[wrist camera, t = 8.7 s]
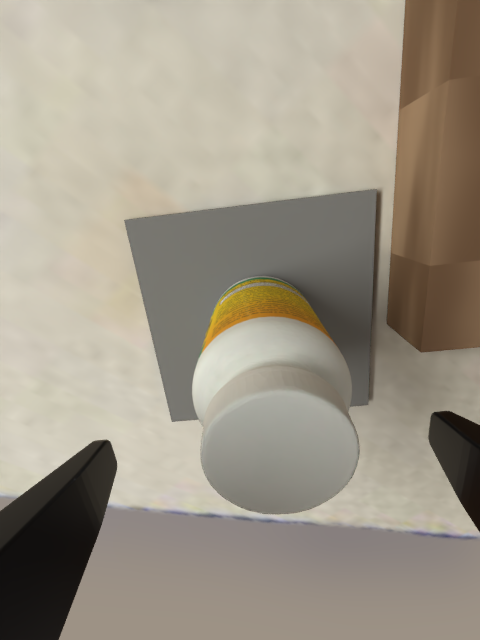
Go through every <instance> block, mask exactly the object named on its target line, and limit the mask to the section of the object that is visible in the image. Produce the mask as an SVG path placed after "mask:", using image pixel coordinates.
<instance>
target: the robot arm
mask: <svg viewBox="0 0 480 640" xmlns="http://www.w3.org/2000/svg"><path fill="white" fill-rule="evenodd" d="M429 442H430V445H431V447H432V449H433V451H434V453H435V455H436V457H437V459H438V461H439V463H440V465H441V466H442V468H443V470H444V472H445V474H446V476H447V478H448V480H449V482H450V484H451V486H452V487H453V489H454V491H455V493H456V495H457V497H458V499H459V500H460V502H461V504H462V505H463V507H464V509H465V510H466V512H467V513H468V515H469V516H470V518H471V519H472V521H473V523H474V524H475V526H476V527H477V529H478V530H479V532H480V425H478V424H476V423H474V422H472V421H470V420H468V419H465V418H463V417H461V416H459V415H457V414H455V413H453V412H450V411H440V412H434V413H432V415H431V420H430V428H429ZM116 471H117V460H116V457H115V454H114V451H113V448H112V445H111V443H110V441H109V440H97V441H93V442H92V443H90V444H89V445H88V446H86V447H85V448H84V449H82V450H81V451H80V452H78V453H77V454H76V455H74V456H73V457H72V458H70V459H69V460H68V461H66V462H65V463H64V464H62V465H61V466H60V467H58V468H57V469H56V470H54V471H53V472H52V473H50V474H49V475H48V476H46V477H45V478H44V479H42V480H41V481H40V482H38V483H37V484H36V485H34V486H33V487H32V488H30V489H29V490H28V491H26V492H25V493H24V494H22V495H21V496H20V497H18V498H17V499H16V500H14V501H13V502H12V503H10V504H9V505H8V506H6V507H5V508H4V509H2V510H1V511H0V640H59V637H60V634H61V632H62V629H63V626H64V624H65V621H66V619H67V616H68V613H69V611H70V608H71V605H72V603H73V600H74V597H75V595H76V592H77V589H78V586H79V584H80V582H81V579H82V576H83V573H84V571H85V568H86V566H87V563H88V560H89V557H90V555H91V552H92V549H93V547H94V544H95V542H96V539H97V537H98V534H99V531H100V528H101V525H102V522H103V518H104V515H105V511H106V508H107V504H108V500H109V497H110V493H111V489H112V486H113V482H114V478H115V475H116Z"/></svg>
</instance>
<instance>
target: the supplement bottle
mask: <svg viewBox="0 0 480 640" xmlns="http://www.w3.org/2000/svg"><path fill="white" fill-rule="evenodd" d="M192 397H193V404H194V408H195V411H196V414H197V417H198V419H199V421H200V423H201V425H202V426H203V432H202V439H201V464H202V468H203V470H204V473H205V476H206V478H207V480H208V481H209V482H210V484H211V486H212V487H213V488H214V489H215V490H216V491H217V492H218V493H219V494H220V495H221V496H222V497H224V498H225V499H226V500H228V501H230V502H231V503H233V504H235V505H237V506H239V507H241V508H244V509H246V510H249V511H253V512H258V513H263V514H290V513H298V512H302V511H305V510H309V509H312V508H314V507H316V506H319V505H321V504H323V503H324V502H326V501H328V500H329V499H331V498H332V497H334V496H335V495H336V494H338V493H339V492H340V491H341V490H342V489H343V488H344V487H345V486H346V485H347V483H348V482H349V480H350V479H351V478H352V476H353V474H354V472H355V469H356V467H357V463H358V459H359V440H358V435H357V432H356V429H355V427H354V424H353V422H352V420H351V418H350V416H349V414H348V411H349V407H350V404H351V397H352V382H351V376H350V372H349V369H348V366H347V363H346V361H345V359H344V357H343V355H342V354H341V352H340V350H339V349H338V347H337V346H336V344H335V343H334V341H333V340H332V338H331V337H330V335H329V334H328V332H327V331H326V329H325V328H324V326H323V325H322V323H321V322H320V320H319V318H318V317H317V315H316V314H315V312H314V311H313V309H312V308H311V306H310V305H309V303H308V301H307V300H306V298H305V297H304V296H303V295H302V294H301V293H300V291H298V290H297V289H296V288H295V287H294V286H292V285H291V284H289V283H287V282H285V281H283V280H280V279H278V278H274V277H269V276H256V277H250V278H246V279H244V280H241V281H239V282H237V283H235V284H233V285H232V286H231V287H230V288H229V289H227V290H226V291H225V292H224V294H223V295H222V296H221V297H220V299H219V301H218V302H217V304H216V306H215V308H214V311H213V313H212V317H211V320H210V323H209V326H208V330H207V332H206V336H205V339H204V343H203V346H202V349H201V352H200V355H199V358H198V361H197V364H196V368H195V371H194V376H193V383H192Z"/></svg>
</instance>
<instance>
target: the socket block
mask: <svg viewBox="0 0 480 640" xmlns="http://www.w3.org/2000/svg"><path fill="white" fill-rule="evenodd" d="M387 324H388V325H389V326H390V327H391V328H392V329H393V330H395V331H396V332H397V333H398V334H399V335H401V336H402V337H403V338H404V339H405V340H407V341H408V342H409V343H410V344H411V345H412V346H414V347H415V348H416V349H417V350H418V351H420V352H432V351H442V350H453V349H464V348H474V347H480V0H406V2H405V19H404V37H403V54H402V71H401V88H400V105H399V122H398V140H397V157H396V174H395V191H394V208H393V225H392V243H391V260H390V277H389V294H388V311H387Z"/></svg>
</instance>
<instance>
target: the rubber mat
mask: <svg viewBox="0 0 480 640" xmlns="http://www.w3.org/2000/svg"><path fill="white" fill-rule="evenodd" d="M376 193H377V189H374V190H365V191H357V192H349V193H341V194H333V195H325V196H316V197H308V198H300V199H292V200H284V201H276V202H268V203H259V204H251V205H243V206H235V207H227V208H219V209H210V210H202V211H194V212H186V213H178V214H170V215H161V216H153V217H145V218H137V219H129V220H124V221H125V225H126V230H127V234H128V238H129V242H130V247H131V251H132V255H133V259H134V264H135V268H136V272H137V276H138V280H139V285H140V289H141V293H142V297H143V302H144V306H145V310H146V314H147V319H148V323H149V327H150V331H151V335H152V340H153V344H154V348H155V352H156V357H157V361H158V365H159V369H160V374H161V378H162V382H163V386H164V390H165V395H166V399H167V403H168V407H169V412H170V416H171V420H172V422H175V421H187V420H199V419H198V417H197V414H196V411H195V408H194V404H193V397H192V383H193V376H194V371H195V368H196V364H197V361H198V358H199V355H200V352H201V349H202V346H203V343H204V339H205V336H206V332H207V330H208V326H209V323H210V320H211V317H212V313H213V311H214V308H215V306H216V304H217V302H218V301H219V299H220V297H221V296H222V295H223V294H224V292H225V291H226V290H227V289H229V288H230V287H231V286H232V285H233V284H235V283H237V282H239V281H241V280H244V279H246V278H250V277H256V276H269V277H274V278H278V279H280V280H283V281H285V282H287V283H289V284H291V285H292V286H294V287H295V288H296V289H297V290H298V291H300V293H301V294H302V295H303V296H304V297H305V298H306V300H307V301H308V303H309V305H310V306H311V308H312V309H313V311H314V312H315V314H316V315H317V317H318V318H319V320H320V322H321V323H322V325H323V326H324V328H325V329H326V331H327V332H328V334H329V335H330V337H331V338H332V340H333V341H334V343H335V344H336V346H337V347H338V349H339V350H340V352H341V354H342V355H343V357H344V359H345V361H346V363H347V366H348V369H349V372H350V376H351V382H352V397H351V404H350V407H351V406H363V405H368V397H369V371H370V346H371V320H372V295H373V269H374V244H375V218H376Z"/></svg>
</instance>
